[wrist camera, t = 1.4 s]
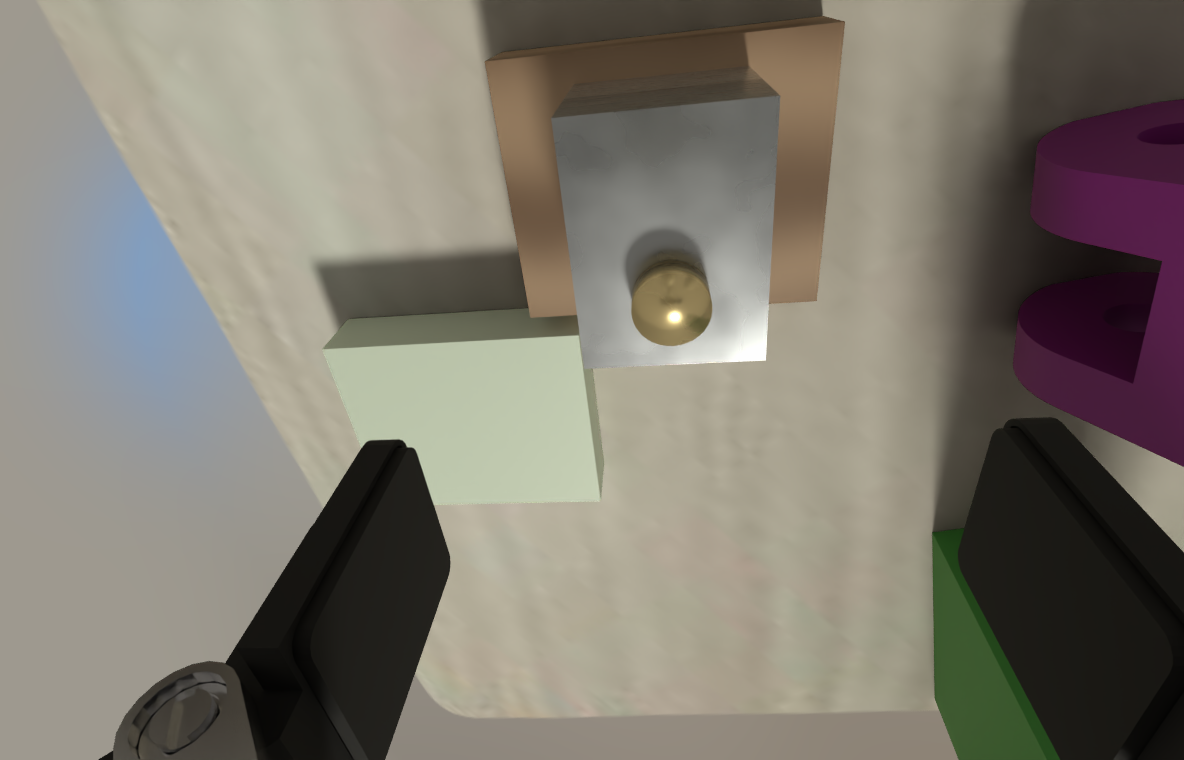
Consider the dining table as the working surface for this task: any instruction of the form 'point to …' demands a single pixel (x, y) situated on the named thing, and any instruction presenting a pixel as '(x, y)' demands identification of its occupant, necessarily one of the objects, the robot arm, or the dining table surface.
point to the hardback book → (977, 672)
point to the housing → (670, 215)
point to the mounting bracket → (1113, 277)
